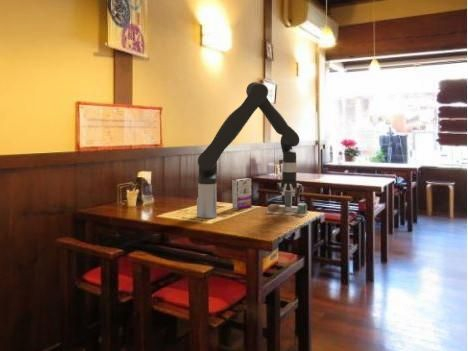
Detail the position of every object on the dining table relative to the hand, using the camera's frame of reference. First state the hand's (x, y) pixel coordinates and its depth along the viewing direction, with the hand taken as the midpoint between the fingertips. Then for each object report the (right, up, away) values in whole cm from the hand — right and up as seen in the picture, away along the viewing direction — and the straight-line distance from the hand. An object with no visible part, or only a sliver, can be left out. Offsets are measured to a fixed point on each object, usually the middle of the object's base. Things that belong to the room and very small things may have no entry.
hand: (288, 202), depth 214 cm
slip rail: (-1, -6, +1) cm, 6 cm away
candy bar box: (-25, -4, +16) cm, 30 cm away
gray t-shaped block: (+1, -5, 0) cm, 5 cm away
